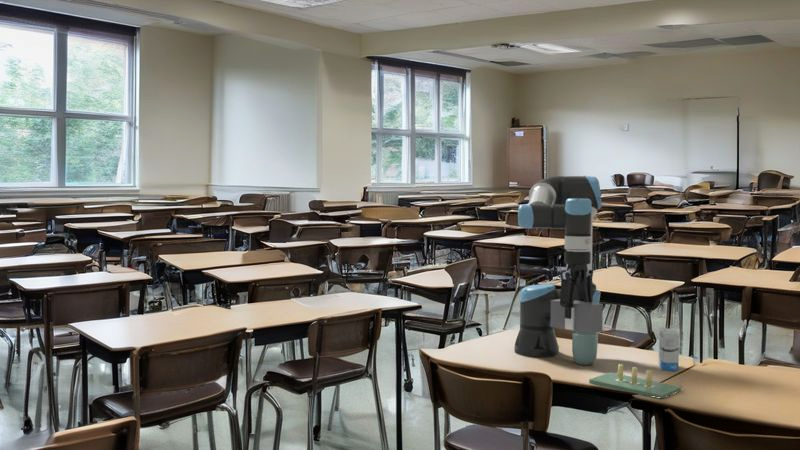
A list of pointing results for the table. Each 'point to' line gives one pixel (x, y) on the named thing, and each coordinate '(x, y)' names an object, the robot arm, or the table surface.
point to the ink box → (668, 349)
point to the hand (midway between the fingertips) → (576, 328)
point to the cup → (584, 347)
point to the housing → (578, 316)
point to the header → (635, 383)
